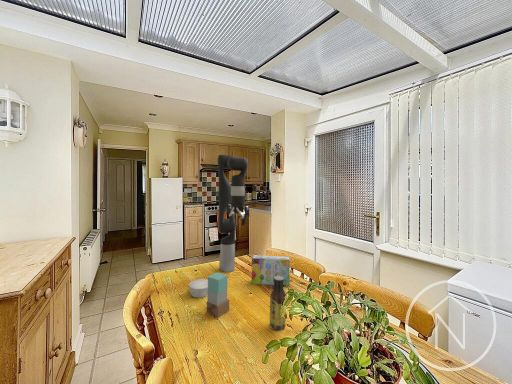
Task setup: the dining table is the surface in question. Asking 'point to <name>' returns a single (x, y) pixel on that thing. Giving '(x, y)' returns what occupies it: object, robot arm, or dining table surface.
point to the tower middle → (217, 297)
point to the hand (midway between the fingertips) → (237, 224)
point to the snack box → (270, 269)
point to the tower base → (218, 308)
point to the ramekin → (199, 288)
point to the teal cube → (217, 282)
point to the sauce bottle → (277, 304)
